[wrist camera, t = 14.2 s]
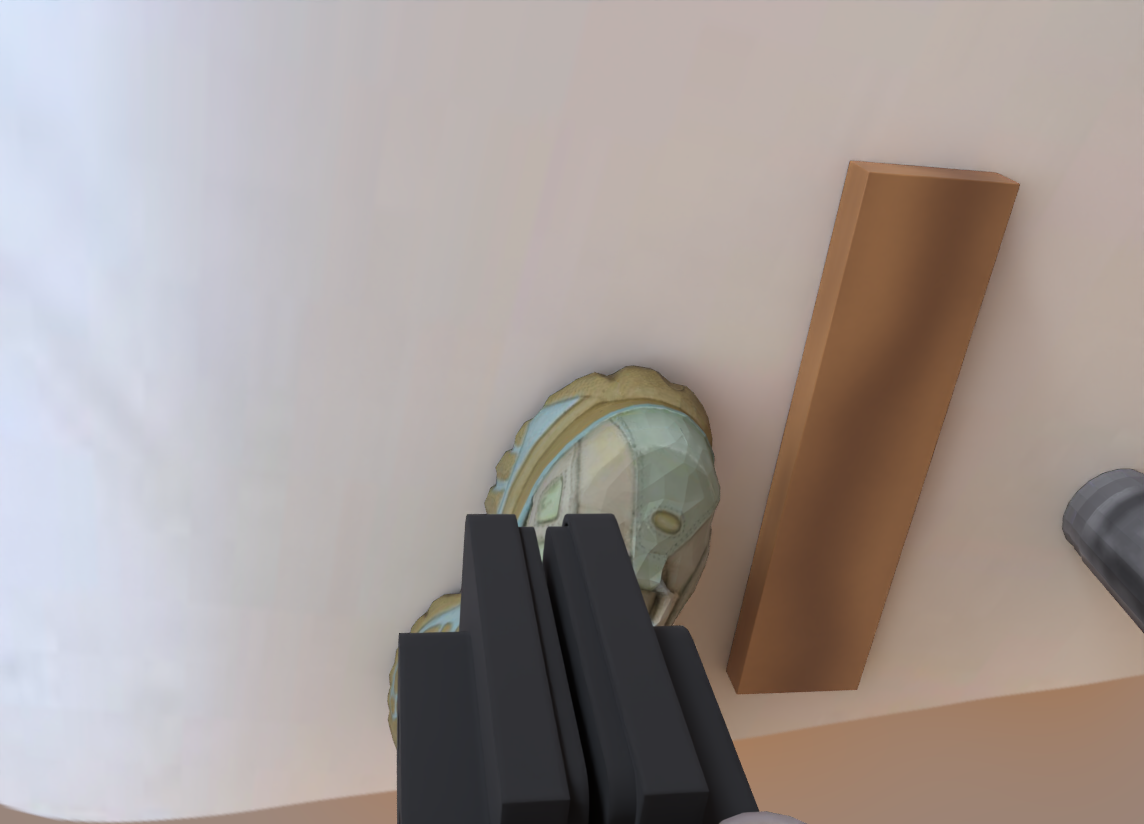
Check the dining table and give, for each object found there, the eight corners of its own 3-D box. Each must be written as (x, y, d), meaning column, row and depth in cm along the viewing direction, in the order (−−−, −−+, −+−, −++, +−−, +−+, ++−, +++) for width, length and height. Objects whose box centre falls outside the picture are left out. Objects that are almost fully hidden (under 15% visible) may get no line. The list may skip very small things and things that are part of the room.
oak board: (996, 172, 38) (1020, 184, 36) (843, 666, 49) (857, 690, 47) (849, 160, 36) (868, 171, 35) (725, 670, 47) (736, 694, 46)
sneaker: (797, 479, 42) (952, 732, 29) (484, 749, 47) (492, 1077, 33) (619, 312, 38) (703, 516, 25) (297, 625, 43) (221, 940, 30)
